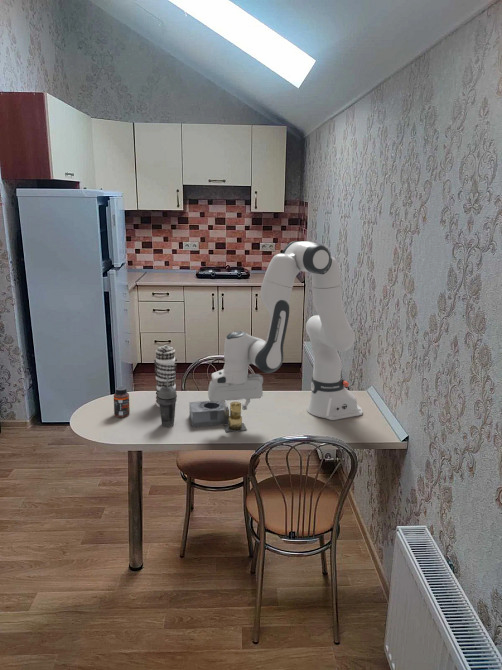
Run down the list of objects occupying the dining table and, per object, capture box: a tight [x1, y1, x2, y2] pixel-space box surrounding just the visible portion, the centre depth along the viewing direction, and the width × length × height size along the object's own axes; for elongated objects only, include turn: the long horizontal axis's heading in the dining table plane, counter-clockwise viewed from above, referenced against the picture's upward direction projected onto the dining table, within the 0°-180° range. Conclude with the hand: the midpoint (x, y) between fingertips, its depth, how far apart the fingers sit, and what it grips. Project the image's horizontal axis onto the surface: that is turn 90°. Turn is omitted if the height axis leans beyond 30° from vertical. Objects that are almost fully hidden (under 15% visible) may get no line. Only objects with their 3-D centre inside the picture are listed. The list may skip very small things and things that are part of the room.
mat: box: [222, 422, 248, 433], centre depth 197 cm, size 8×6×1 cm
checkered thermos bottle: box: [153, 344, 178, 408], centre depth 215 cm, size 9×9×25 cm
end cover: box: [229, 401, 243, 430], centre depth 196 cm, size 5×5×10 cm
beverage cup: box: [158, 376, 178, 428], centre depth 197 cm, size 7×7×20 cm
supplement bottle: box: [113, 386, 131, 419], centre depth 205 cm, size 6×6×11 cm
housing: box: [188, 400, 230, 428], centre depth 203 cm, size 14×10×6 cm
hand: (235, 410), depth 196 cm, fingers open, 6 cm apart
